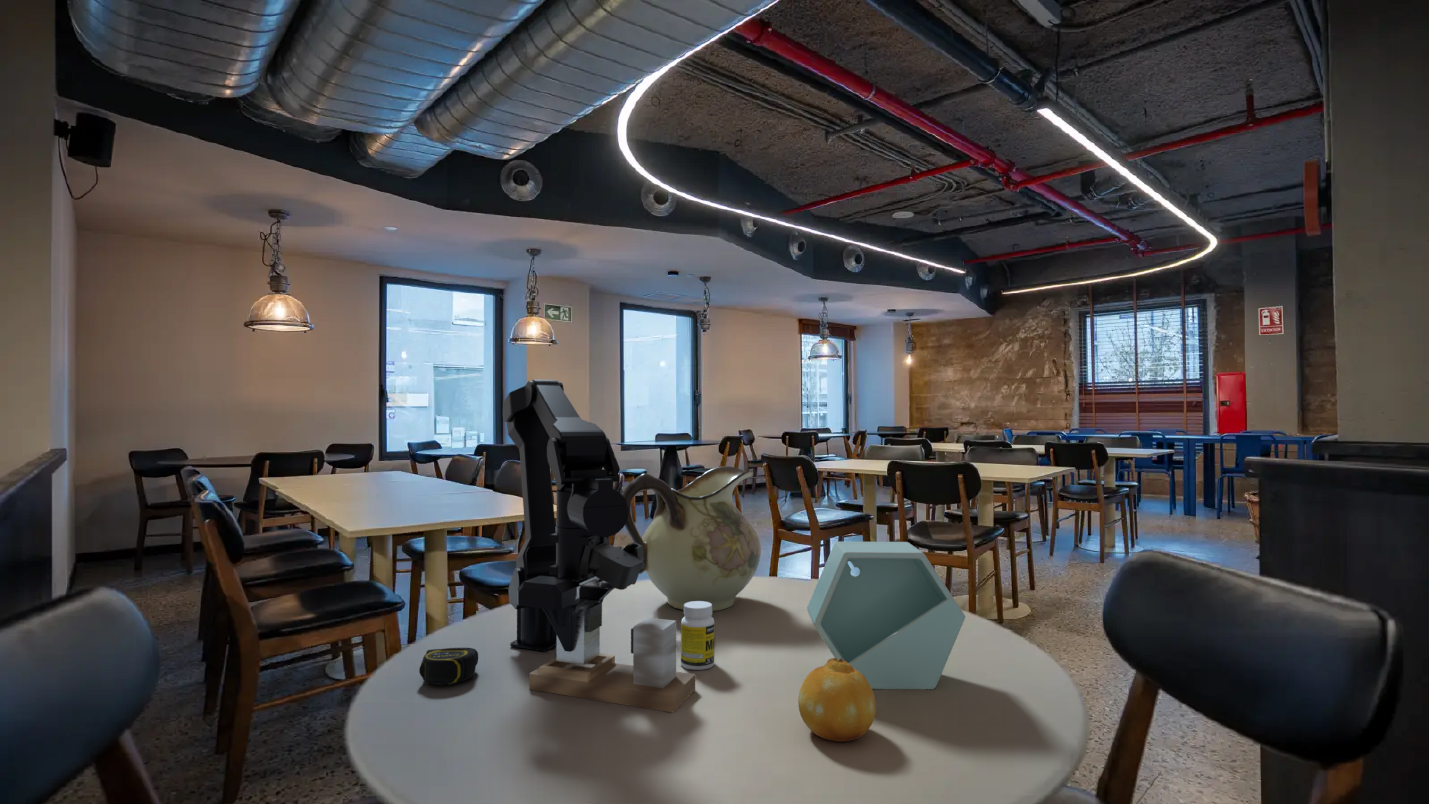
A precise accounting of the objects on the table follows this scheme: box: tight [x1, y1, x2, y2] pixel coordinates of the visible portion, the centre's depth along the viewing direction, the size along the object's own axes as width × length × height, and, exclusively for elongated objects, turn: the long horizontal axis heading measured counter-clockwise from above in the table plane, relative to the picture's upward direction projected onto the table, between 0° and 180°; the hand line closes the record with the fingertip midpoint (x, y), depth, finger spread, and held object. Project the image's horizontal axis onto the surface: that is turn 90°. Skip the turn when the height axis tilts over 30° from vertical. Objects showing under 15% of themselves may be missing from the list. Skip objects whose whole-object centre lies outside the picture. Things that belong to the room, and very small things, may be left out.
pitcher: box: [621, 465, 762, 612], centre depth 127 cm, size 22×24×25 cm
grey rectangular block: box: [556, 600, 603, 665], centre depth 89 cm, size 4×5×7 cm
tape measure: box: [418, 647, 479, 686], centre depth 90 cm, size 7×7×4 cm
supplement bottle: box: [680, 601, 715, 671], centre depth 96 cm, size 5×5×8 cm
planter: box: [806, 541, 966, 691], centre depth 91 cm, size 17×8×21 cm
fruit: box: [797, 657, 877, 742], centre depth 75 cm, size 8×8×8 cm
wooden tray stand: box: [528, 617, 696, 713], centre depth 87 cm, size 20×7×9 cm, turn 70°
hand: (577, 645), depth 89 cm, fingers closed on grey rectangular block, 4 cm apart
